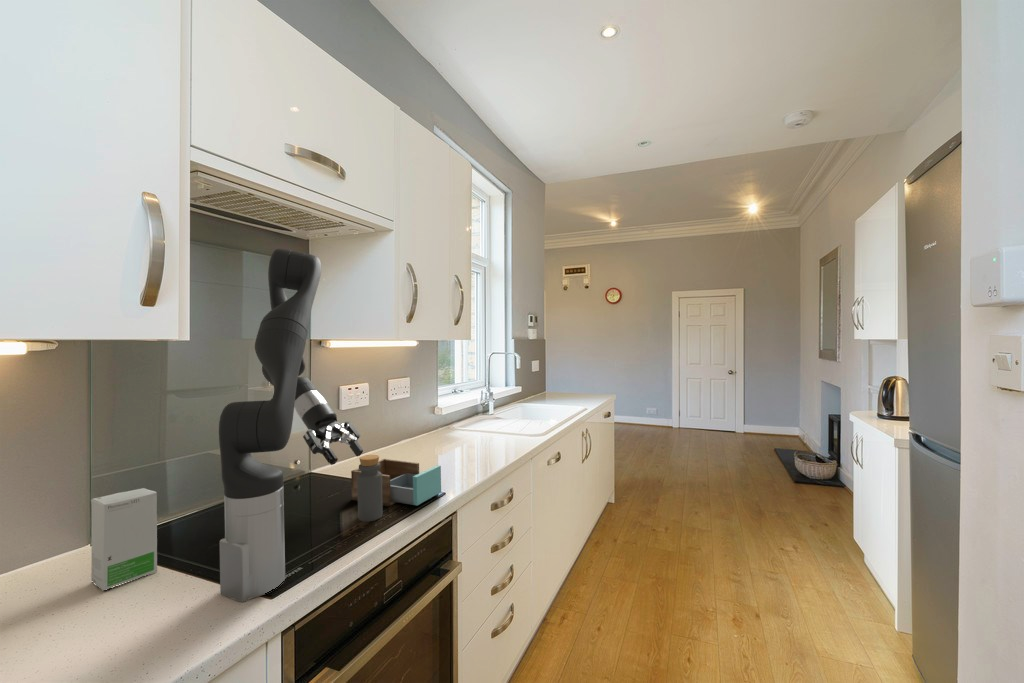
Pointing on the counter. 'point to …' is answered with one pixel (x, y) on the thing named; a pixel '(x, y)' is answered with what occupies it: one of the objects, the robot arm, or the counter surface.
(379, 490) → the bottle
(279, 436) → the robot arm
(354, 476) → the housing
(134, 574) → the skincare box
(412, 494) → the teal drawer
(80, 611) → the counter surface
